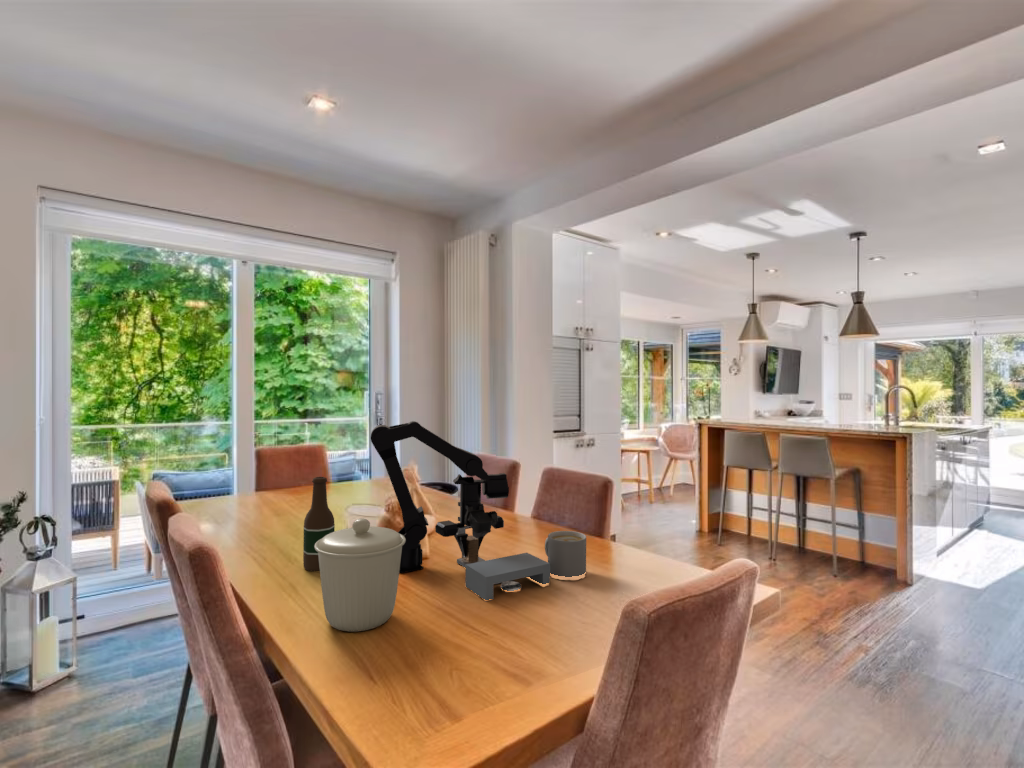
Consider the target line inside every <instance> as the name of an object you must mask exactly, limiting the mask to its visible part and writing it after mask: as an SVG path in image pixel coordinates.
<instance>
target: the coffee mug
mask: <svg viewBox="0 0 1024 768" xmlns="http://www.w3.org/2000/svg"><path fill="white" fill-rule="evenodd" d="M544 552H545V554H546V557H547V562H548V563H550V573H551V574H554V575H558V576H565V577H572V576H579V575H582V574H584V573H585V572H586V573H587V535H585V533H582V532H578V531H573V530H557V531H552V532H549V534H548V535H547V537H546V539H545V541H544Z"/></svg>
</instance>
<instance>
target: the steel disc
mask: <svg viewBox="0 0 1024 768" xmlns="http://www.w3.org/2000/svg"><path fill="white" fill-rule="evenodd" d="M501 588H502V589H503V590H507V591H514V590H518V589H520V588H521V589H522V584H521V583H520V582H518V581H515V580H511V581H506V582H502V583H500V589H501Z"/></svg>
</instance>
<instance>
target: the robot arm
mask: <svg viewBox="0 0 1024 768" xmlns="http://www.w3.org/2000/svg"><path fill="white" fill-rule="evenodd" d="M409 438H415V439H416V440H418V441H420V442H421V443H422V444H424V445H426V446H428V448H431V449H433V450H434V451H436V452H437V453H439V454H441V456H444V457H446V459H448V460H450V462H452V464H454V465H455V466H456V467H457V468H458V469H459V470H461V471H462V472H463V473H464V474H465V475H466V476H462V475H461V474H460V473H459V474H458V475H457V476H456V477H455V478H454V479H453V480H452V482H453V483H454V484H455V485H460V488H459V489H460V492H459V496H460V497H459V499H460V500H459V501H458V502H457V506H458V507H459V516H457V521H458V522H454V521H451V520H443V521H438V522H437V523H436V525H435V528H434V529H435V533H436V534H437V535H440V536H442V537H444V538H446V537H447V538H448V537H454V538H455V540H456V542H457V545H458V547H459V549H460V551H461V556H462V555H463V557H466V555H467V544H466V539H467V537H468V536H469V534H468V533H466V530H467V529H472V530H471V531H472V532H471V533H472V536H474V537H476V538H478V552H479V551H480V548H481V545H482V542H483V540H484V538H485V537H486V535H487V534H489V533H491V532H492V530H491V529H492V528H494V529H496V530H497V529H502V528H505V526H504V525H505V520H504V519H503V517H502V516H500V515H498V513H497V511H495V510H492V511H486V512H485V509H484V508H485V506H484V503H482V495H483V496H485V497H486V499H487V500H489V499H507V498H509V494H510V486H509V483H508V479H507V476H508V475H507V474H506V473H505V472H503V473H496V474H495V473H494V474H493V473H491V474H490V473H488V472H487V471H486V470H485V468H483V466H484V465H483V464H484V463H483V460H482V458H480V457H479V456H478V455H477V454H475V453H473V452H471V451H468V450H466V449H463V448H460V447H458V446H455V445H453V444H451V443H450V442H448V441H446V440H445V439H443V438H441V436H438V435H437V434H436V433H434V432H432V431H431V430H429V429H428V428H426V427H424V426H422V425H421V423H419V422H418V421H416V420H415V421H414V420H412V421H410V422H406V423H400V424H396V425H391V426H388V425H386V424H378V425H376V426H375V427H373V429H372V431H371V433H370V442H371V444H372V446H373V447H374V449H375V451H376V452H377V454H378V455H379V457H380V458H381V460H382V461H383V464H384V467H385V469H386V472H387V475H388V477H389V480H390V482H391V486H392V489H393V490H394V494H395V496H396V499H397V503H398V504H399V507H400V511H401V516H402V523H403V527H402V528H401V529H400V530H399V531H397V532H398V533H399V534H401V535H403V536H404V537H405V539H406V541H405V544H404V545H403V546H402V552H401V561H400V570H399V574H402V573H409V572H413V571H420V570H423V569H424V566H423V549H422V544H421V541H423V540H424V538H426V536H427V534H428V528H427V526H429V525H430V524H429V522H428V519H427V517H426V516H425V513H424V508H423V506H422V505H420V506H419V507H417V506H416V504H415V503H414V500H413V498H412V494H411V492H410V490H409V487H408V483H407V481H406V479H405V476H404V473H403V470H402V467H401V463H400V462H399V459H398V456H397V450H396V444H395V442H400V441H403V440H406V439H409ZM474 477H476V478H478V479H474Z"/></svg>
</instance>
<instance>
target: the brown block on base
mask: <svg viewBox="0 0 1024 768" xmlns="http://www.w3.org/2000/svg"><path fill="white" fill-rule="evenodd" d="M466 544H467V555H466V557H463V555H462V554H461V557H460V558H457V559H456V564H457V563H458V565H459V564H460V565H459V566H461V565H462V566H463V567H462V566H461V567H462V568H464V567H465V568H466V564H471V563H476V562H481V561H486V560H485V559H484V558H482V557H480V556H479V551H478V538H476V537H474V536H473V535H468V537H467V539H466ZM465 568H464V569H465Z"/></svg>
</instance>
